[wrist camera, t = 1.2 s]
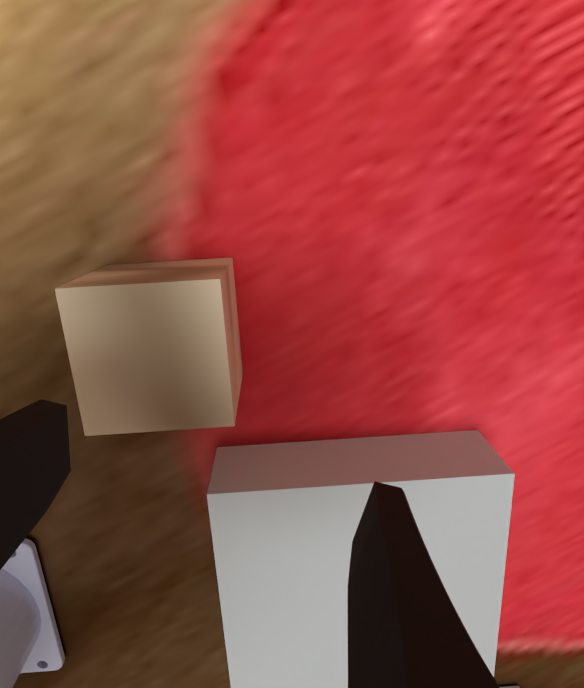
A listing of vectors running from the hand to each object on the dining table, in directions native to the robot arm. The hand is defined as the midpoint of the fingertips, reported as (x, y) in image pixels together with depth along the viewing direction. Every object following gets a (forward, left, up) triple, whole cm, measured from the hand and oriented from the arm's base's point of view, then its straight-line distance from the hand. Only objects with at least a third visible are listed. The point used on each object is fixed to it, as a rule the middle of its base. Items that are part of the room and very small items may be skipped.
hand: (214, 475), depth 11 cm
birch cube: (-3, +1, -10) cm, 10 cm away
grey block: (+4, -11, -10) cm, 16 cm away
